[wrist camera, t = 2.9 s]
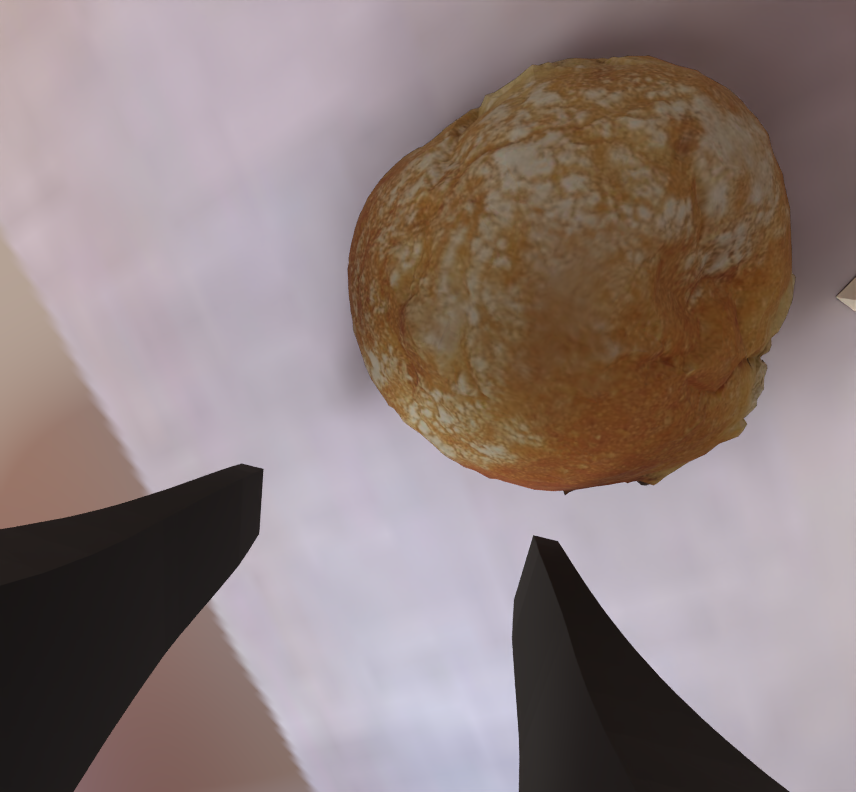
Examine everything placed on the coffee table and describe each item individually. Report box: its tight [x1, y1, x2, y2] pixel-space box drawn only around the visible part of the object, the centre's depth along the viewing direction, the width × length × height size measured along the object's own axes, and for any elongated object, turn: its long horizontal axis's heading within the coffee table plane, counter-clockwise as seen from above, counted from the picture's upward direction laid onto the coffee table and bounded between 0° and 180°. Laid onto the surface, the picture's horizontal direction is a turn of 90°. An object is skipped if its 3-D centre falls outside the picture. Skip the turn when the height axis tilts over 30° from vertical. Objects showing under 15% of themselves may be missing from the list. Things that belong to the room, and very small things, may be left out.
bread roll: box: [348, 56, 796, 495], centre depth 11 cm, size 10×10×8 cm
